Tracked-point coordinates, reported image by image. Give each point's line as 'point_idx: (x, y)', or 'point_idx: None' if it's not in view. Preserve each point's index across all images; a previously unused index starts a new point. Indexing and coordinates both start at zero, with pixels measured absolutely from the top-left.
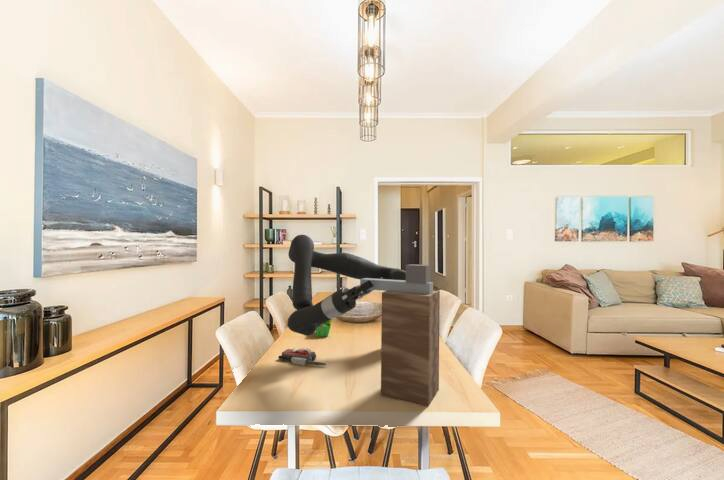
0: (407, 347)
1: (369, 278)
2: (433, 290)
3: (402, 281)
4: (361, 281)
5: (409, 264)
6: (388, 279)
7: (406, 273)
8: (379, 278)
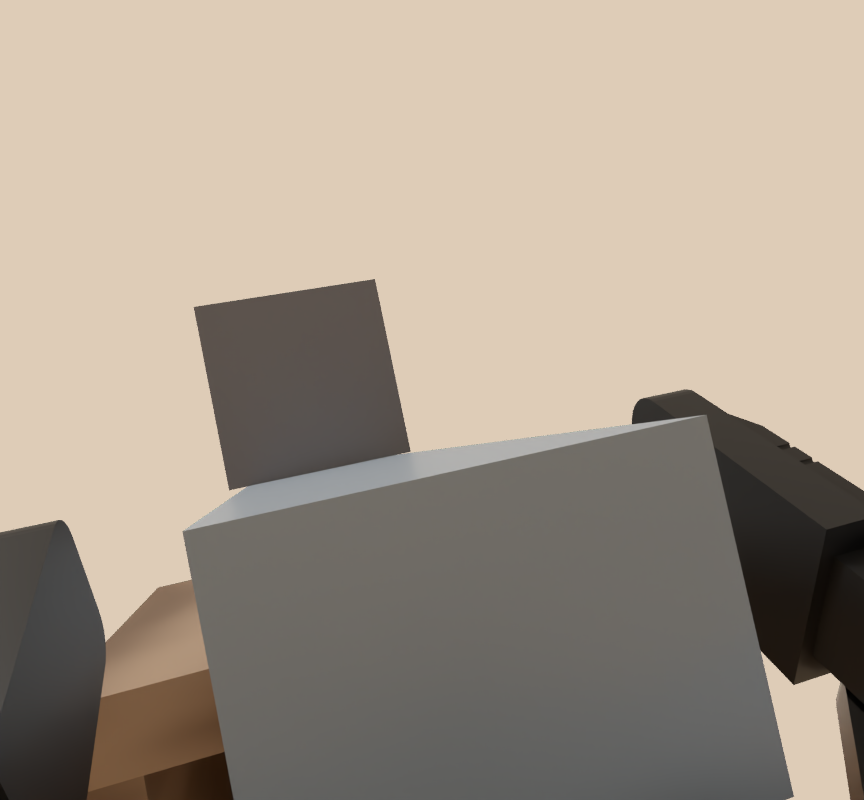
0: None
1: (290, 497)
2: (153, 595)
3: (367, 461)
4: (698, 499)
5: (252, 298)
6: (251, 491)
7: (390, 363)
8: (59, 549)
